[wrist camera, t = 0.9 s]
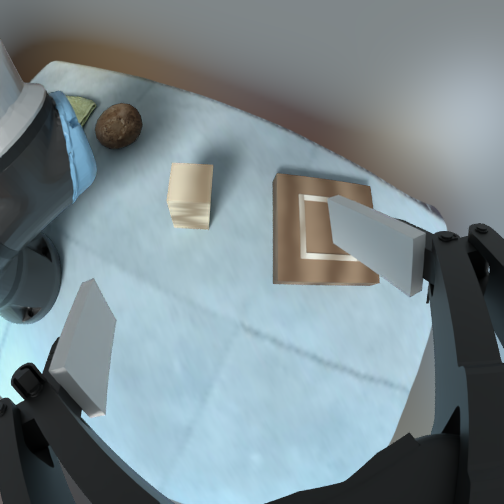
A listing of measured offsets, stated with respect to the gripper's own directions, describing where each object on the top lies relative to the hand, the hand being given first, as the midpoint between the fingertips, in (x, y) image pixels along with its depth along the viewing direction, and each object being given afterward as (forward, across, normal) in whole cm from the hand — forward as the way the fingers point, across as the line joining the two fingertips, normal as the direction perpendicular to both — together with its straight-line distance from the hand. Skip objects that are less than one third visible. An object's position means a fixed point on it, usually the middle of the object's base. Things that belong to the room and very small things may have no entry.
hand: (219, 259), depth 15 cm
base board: (+24, +18, -13) cm, 33 cm away
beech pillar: (+29, 0, -5) cm, 29 cm away
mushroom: (+39, -8, +9) cm, 41 cm away
